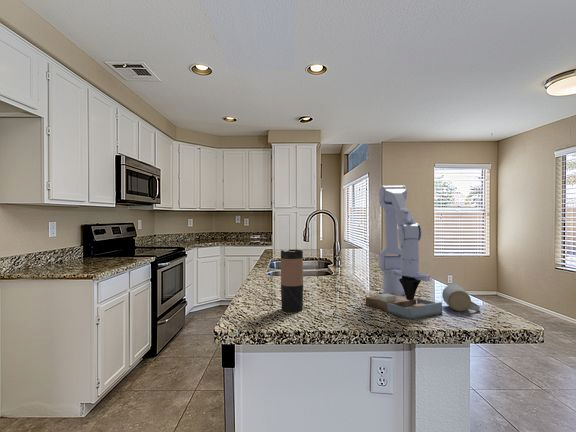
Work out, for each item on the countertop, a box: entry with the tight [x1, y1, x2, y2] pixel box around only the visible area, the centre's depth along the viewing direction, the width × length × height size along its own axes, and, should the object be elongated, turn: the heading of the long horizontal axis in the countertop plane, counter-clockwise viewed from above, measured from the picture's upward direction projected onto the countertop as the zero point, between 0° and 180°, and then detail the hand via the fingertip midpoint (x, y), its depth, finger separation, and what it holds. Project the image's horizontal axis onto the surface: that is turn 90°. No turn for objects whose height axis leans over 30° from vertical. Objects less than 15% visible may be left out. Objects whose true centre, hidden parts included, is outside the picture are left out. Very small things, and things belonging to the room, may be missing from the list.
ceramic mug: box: [441, 284, 481, 313], centre depth 109 cm, size 11×8×8 cm
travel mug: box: [280, 249, 304, 313], centre depth 111 cm, size 8×8×20 cm
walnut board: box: [365, 293, 417, 312], centre depth 115 cm, size 13×11×2 cm
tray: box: [386, 297, 443, 320], centre depth 106 cm, size 14×9×4 cm, turn 117°
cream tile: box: [376, 293, 396, 302], centre depth 113 cm, size 4×4×2 cm
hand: (410, 299), depth 111 cm, fingers closed
